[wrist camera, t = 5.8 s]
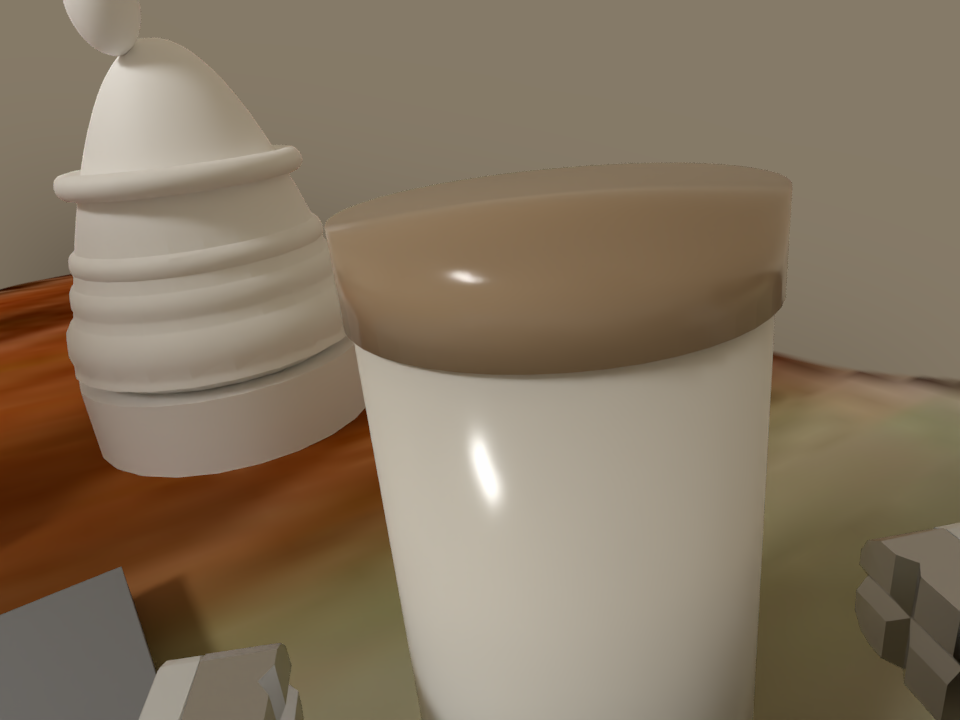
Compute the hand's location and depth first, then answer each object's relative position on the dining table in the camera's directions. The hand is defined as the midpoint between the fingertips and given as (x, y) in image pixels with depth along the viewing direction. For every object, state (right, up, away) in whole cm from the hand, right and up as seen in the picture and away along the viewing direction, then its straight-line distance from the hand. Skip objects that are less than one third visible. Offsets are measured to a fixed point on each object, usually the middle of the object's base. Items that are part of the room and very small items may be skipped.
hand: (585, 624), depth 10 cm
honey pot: (-13, +1, +25) cm, 28 cm away
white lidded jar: (+1, -6, +3) cm, 6 cm away
